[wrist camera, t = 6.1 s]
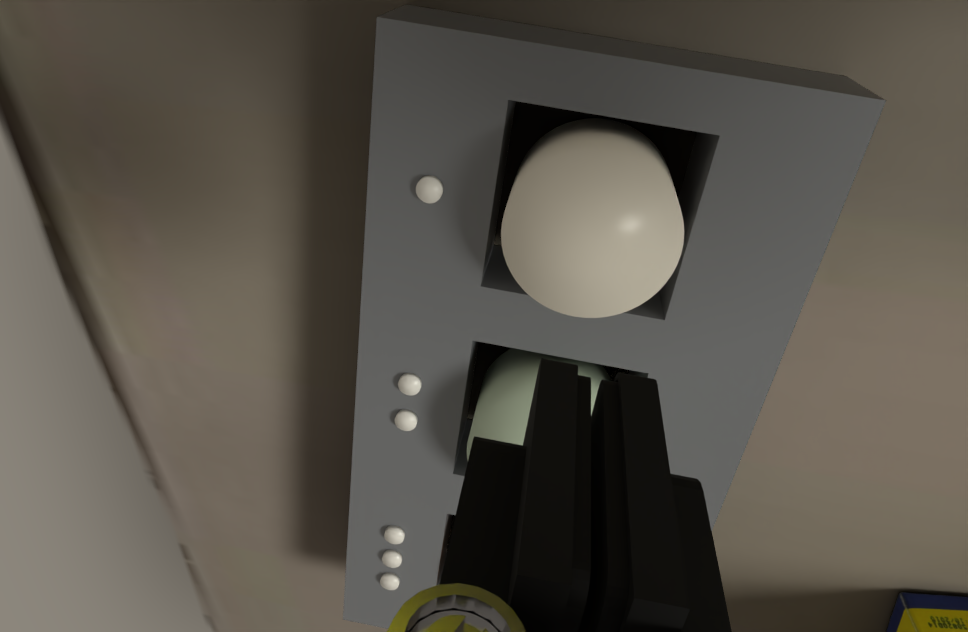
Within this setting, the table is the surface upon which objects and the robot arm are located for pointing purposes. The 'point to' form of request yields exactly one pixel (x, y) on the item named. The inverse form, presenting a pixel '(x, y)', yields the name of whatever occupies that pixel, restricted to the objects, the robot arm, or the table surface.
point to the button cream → (592, 220)
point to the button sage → (517, 394)
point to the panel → (528, 324)
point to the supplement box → (929, 613)
